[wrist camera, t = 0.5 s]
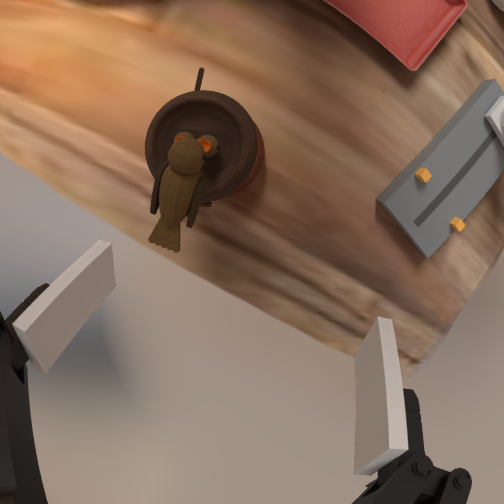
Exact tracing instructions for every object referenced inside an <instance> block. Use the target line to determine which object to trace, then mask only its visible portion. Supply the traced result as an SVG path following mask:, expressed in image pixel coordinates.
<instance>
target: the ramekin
mask: <svg viewBox="0 0 504 504" xmlns="http://www.w3.org/2000/svg"><path fill="white" fill-rule="evenodd" d="M492 2H493V3H494V4H495V5H496V6H497V7H498V8H499V9H500V10H501V11H503V12H504V0H492Z"/></svg>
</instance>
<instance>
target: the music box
mask: <svg viewBox="0 0 504 504" xmlns="http://www.w3.org/2000/svg"><path fill="white" fill-rule="evenodd" d="M203 73H204V68H200V69H199V72H198V77H197V81H196V86H195V91H192V92H188V93H184V94H182V95H179V96H177V97H175V98H174V99H172V100H170V101H169V102H168V103H166V104H165V105H164V106H163V107H162V108H161V109H160V110H159V111H158V112H157V114H156V115H155V117H154V118H153V120H152V122H151V124H150V126H149V128H148V131H147V135H146V140H145V155H146V160H147V164H148V167H149V169H150V172H151V174H152V175H153V177H154V179H155V182H154V187H153V192H152V199H151V207H150V213H151V214H154V215H155V214H156V212H157V209H158V207H160V213H161V218H160V219H159V221H158V223H157V224H156V226H155V228H154V230H153V231H152V233H151V235H150V237H149V239H148V240H149V242H150V243H155V244H156V245H161V246H162V247H163V248H167V249H168V250H173V251H174V252H176V253H177V252H179V251H180V222H181V221H182V220H183V219H184V218H185V216H187V217H188V221H187V227H189V228H192V226H193V224H194V221H195V218H196V216H197V213H198V210H199V207H200V206H203V207H211V205H212V203H211V202H209V201H214V200H217V199H220V198H223V197H227V196H231V195H234V194H236V193H238V192H240V191H242V190H243V189H245V188H246V187H247V186H248V185H249V184H250V183H251V182H252V181H253V180H254V179H255V177H256V176H257V174H258V173H259V171H260V168H261V166H262V162H263V158H264V143H263V139H262V136H261V133H260V131H259V129H258V127H257V126H256V124H255V123H254V122H253V121H252V119H251V117H250V115H249V114H248V113H247V111H246V110H245V109H244V108H243V107H242V106H241V105H240V104H239V103H238V102H237V101H235V100H234V99H232V98H230V97H229V96H227V95H224V94H222V93H218V92H214V91H206V90H200V87H201V82H202V78H203Z"/></svg>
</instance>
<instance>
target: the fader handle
mask: <svg viewBox="0 0 504 504" xmlns="http://www.w3.org/2000/svg"><path fill="white" fill-rule="evenodd" d="M485 117H486V118H487V120H488V121H489V123H490V125H491V126H492V128H493V130H494V131H495V133H496V135H497V136H498V138H499V140H500V141H501V143H502V145H503V147H504V96H500V97H499V99H498V100H497V101H496V102H495V104H494V105H493V106H492V108H491V109H490V110H489V111H488V113H487V114H486V115H485Z"/></svg>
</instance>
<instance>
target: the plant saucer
mask: <svg viewBox="0 0 504 504" xmlns="http://www.w3.org/2000/svg"><path fill="white" fill-rule="evenodd" d="M323 1H325V2H326V3H328V4H329V5H331V6H332V7H334V8H335V9H337V10H338V11H339V12H341V13H342V14H344V15H345V16H346V17H348V18H349V19H350V20H352V21H353V22H354V23H356V24H357V25H358V26H359V27H361V28H362V29H363V30H364V31H366V32H367V33H368V34H369V35H371V36H372V37H373V38H374V39H375V40H377V41H378V42H379V43H380V44H381V45H382V46H384V47H385V48H386V49H387V50H388V51H389V52H390V53H391V54H393V55H394V56H395V57H396V58H397V59H398V60H399V61H400V62H401V63H402V64H403V65H405V66H406V67H407V68H408V69H409V70H411V71H416V70H417V69H418V68H419V67H420V66H421V64H422V63H423V62H424V60H425V59H426V58H427V57H428V55H429V54H430V53H431V52H432V50H433V49H434V48H435V47H436V46H437V44H438V43H439V42H440V41H441V39H442V38H443V37H444V36H445V34H446V33H447V32H448V30H449V29H450V28H451V27H452V25H453V24H454V23H455V22H456V20H457V19H458V18H459V17H460V15H461V14H462V13H463V12H464V10H465V9H466V8H467V6H468V5H467V2H466V0H323Z"/></svg>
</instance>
